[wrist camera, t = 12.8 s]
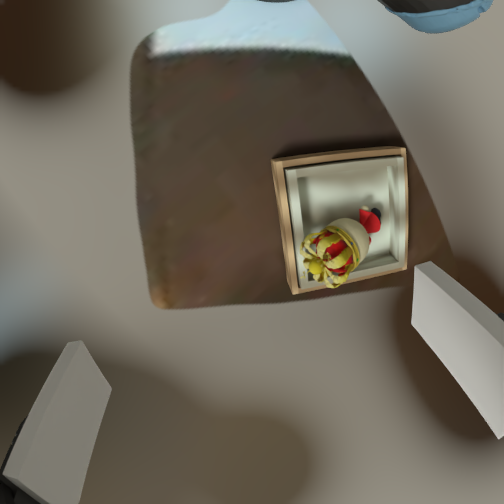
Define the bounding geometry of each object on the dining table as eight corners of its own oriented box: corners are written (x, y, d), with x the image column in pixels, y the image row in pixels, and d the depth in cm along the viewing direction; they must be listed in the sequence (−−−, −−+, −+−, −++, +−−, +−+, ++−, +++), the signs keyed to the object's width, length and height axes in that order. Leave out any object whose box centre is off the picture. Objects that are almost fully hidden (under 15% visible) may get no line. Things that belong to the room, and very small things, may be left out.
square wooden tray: (270, 159, 39) (276, 162, 35) (391, 145, 40) (409, 148, 35) (287, 281, 46) (294, 298, 42) (394, 258, 47) (409, 271, 42)
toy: (355, 187, 41) (274, 242, 36) (398, 201, 36) (319, 267, 30) (359, 229, 45) (286, 287, 40) (398, 246, 40) (326, 314, 34)
